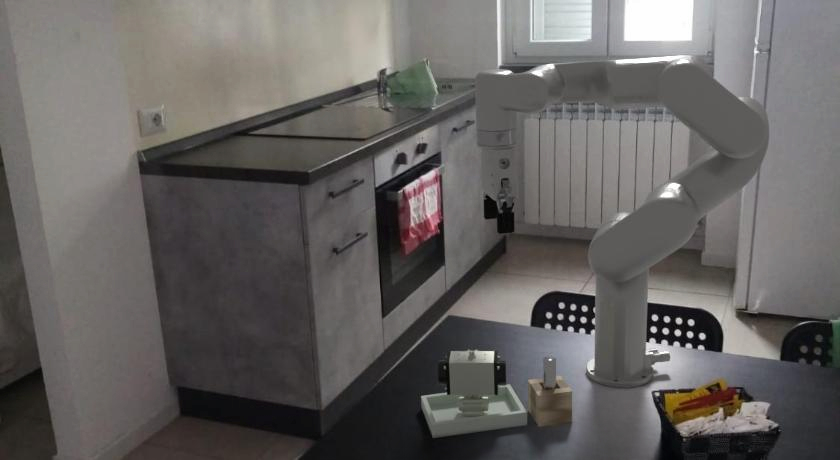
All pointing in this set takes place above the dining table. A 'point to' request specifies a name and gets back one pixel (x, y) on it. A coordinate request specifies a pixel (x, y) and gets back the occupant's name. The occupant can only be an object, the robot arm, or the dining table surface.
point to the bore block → (550, 402)
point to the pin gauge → (549, 373)
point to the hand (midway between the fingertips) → (498, 225)
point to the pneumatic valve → (472, 378)
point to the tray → (450, 420)
